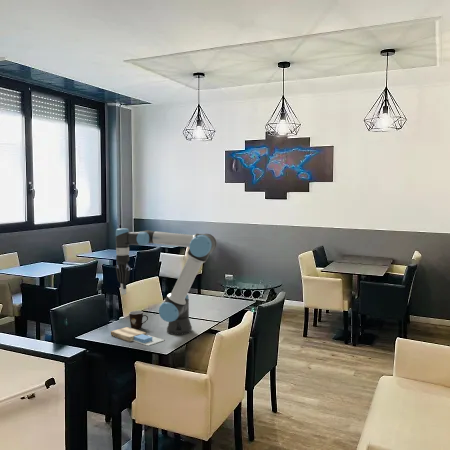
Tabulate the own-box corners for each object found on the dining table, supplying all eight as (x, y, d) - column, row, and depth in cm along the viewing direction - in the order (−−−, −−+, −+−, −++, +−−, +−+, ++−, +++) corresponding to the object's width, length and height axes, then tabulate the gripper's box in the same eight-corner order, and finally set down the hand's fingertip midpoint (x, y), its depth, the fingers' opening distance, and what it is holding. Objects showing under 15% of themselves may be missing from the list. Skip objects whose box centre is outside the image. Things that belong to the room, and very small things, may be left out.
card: (133, 339, 253) (133, 336, 253) (142, 337, 258) (142, 334, 258) (143, 343, 247) (143, 339, 247) (152, 340, 252) (152, 337, 252)
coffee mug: (126, 328, 278) (126, 312, 277) (137, 325, 284) (137, 310, 284) (138, 332, 270) (137, 315, 269) (149, 328, 276) (148, 313, 276)
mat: (148, 335, 262) (148, 335, 262) (164, 340, 253) (164, 340, 253) (132, 340, 253) (132, 340, 253) (147, 346, 244) (147, 345, 244)
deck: (127, 330, 272) (127, 326, 272) (146, 336, 261) (146, 332, 260) (110, 335, 263) (110, 331, 263) (129, 341, 252) (129, 337, 251)
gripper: (110, 254, 264) (111, 293, 265) (124, 256, 255) (124, 296, 256) (121, 253, 269) (122, 291, 270) (134, 254, 260) (135, 294, 262)
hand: (123, 294), depth 263 cm, fingers closed
